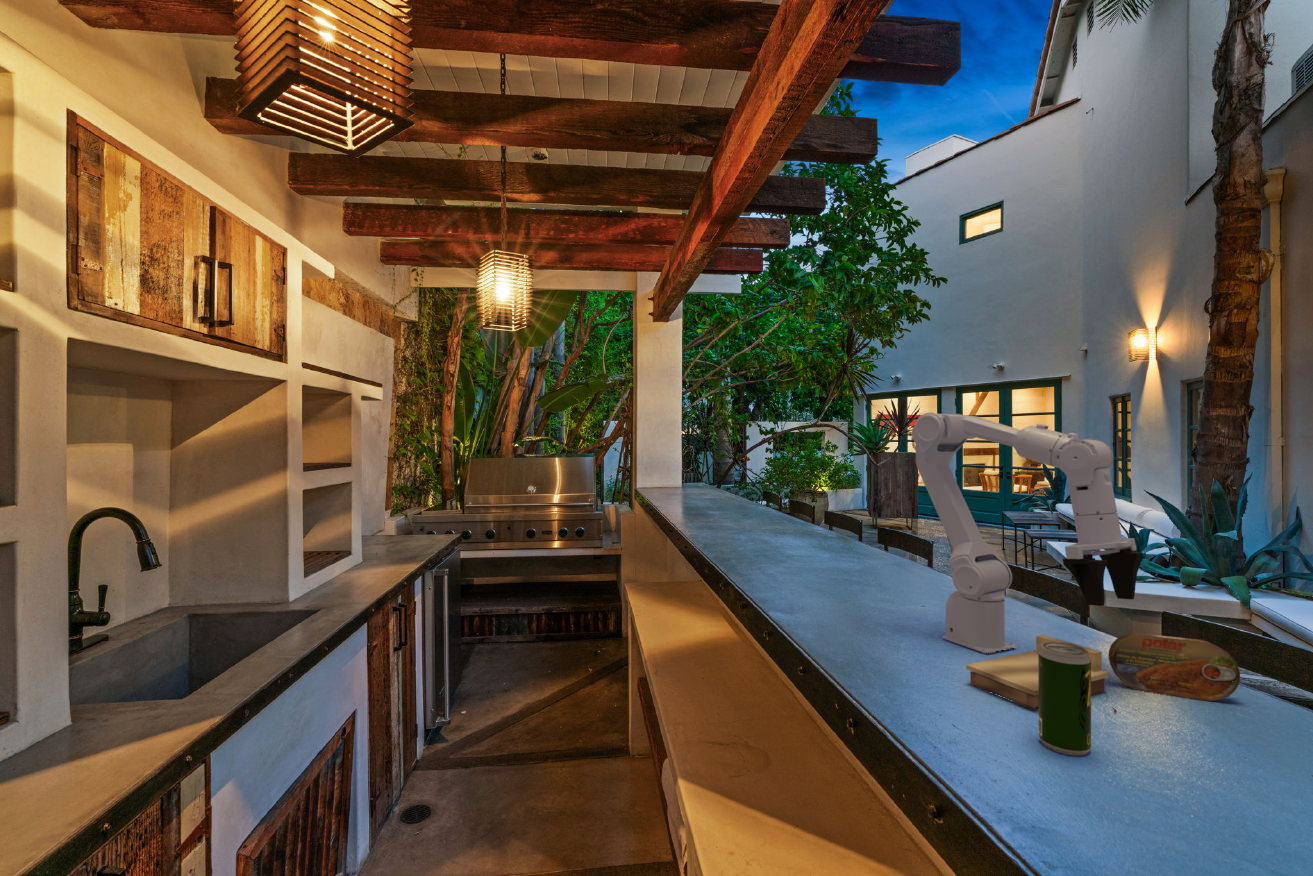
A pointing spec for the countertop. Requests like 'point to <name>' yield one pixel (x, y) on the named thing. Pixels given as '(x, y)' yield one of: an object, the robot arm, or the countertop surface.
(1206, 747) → the countertop surface
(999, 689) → the box
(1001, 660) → the cover plate
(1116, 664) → the tin
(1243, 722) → the countertop surface
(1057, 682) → the beer can
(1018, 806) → the countertop surface
